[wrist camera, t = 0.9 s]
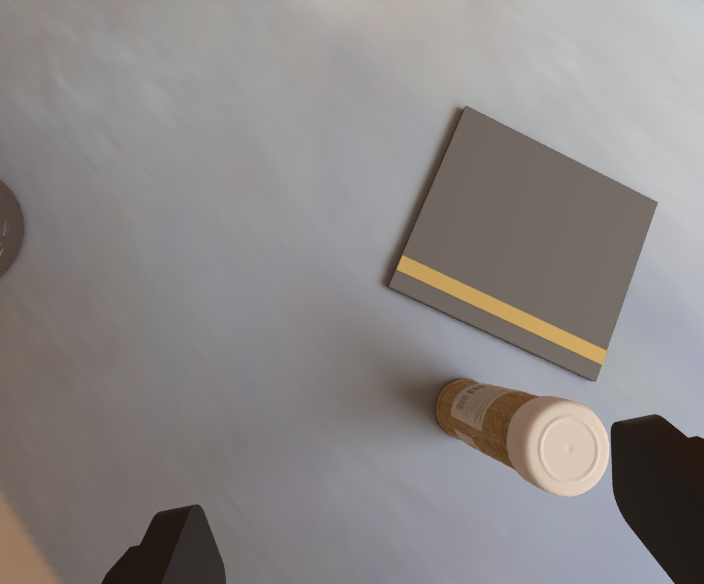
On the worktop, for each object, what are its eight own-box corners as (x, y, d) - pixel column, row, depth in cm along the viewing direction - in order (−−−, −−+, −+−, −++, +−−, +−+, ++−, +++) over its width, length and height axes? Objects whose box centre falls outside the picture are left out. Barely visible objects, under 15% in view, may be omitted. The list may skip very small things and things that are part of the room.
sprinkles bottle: (448, 448, 35) (547, 516, 21) (424, 391, 35) (509, 424, 22) (501, 423, 35) (628, 474, 22) (477, 367, 36) (590, 385, 22)
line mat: (387, 287, 35) (389, 286, 35) (463, 109, 38) (466, 105, 37) (590, 380, 37) (596, 381, 36) (652, 204, 39) (658, 201, 38)
